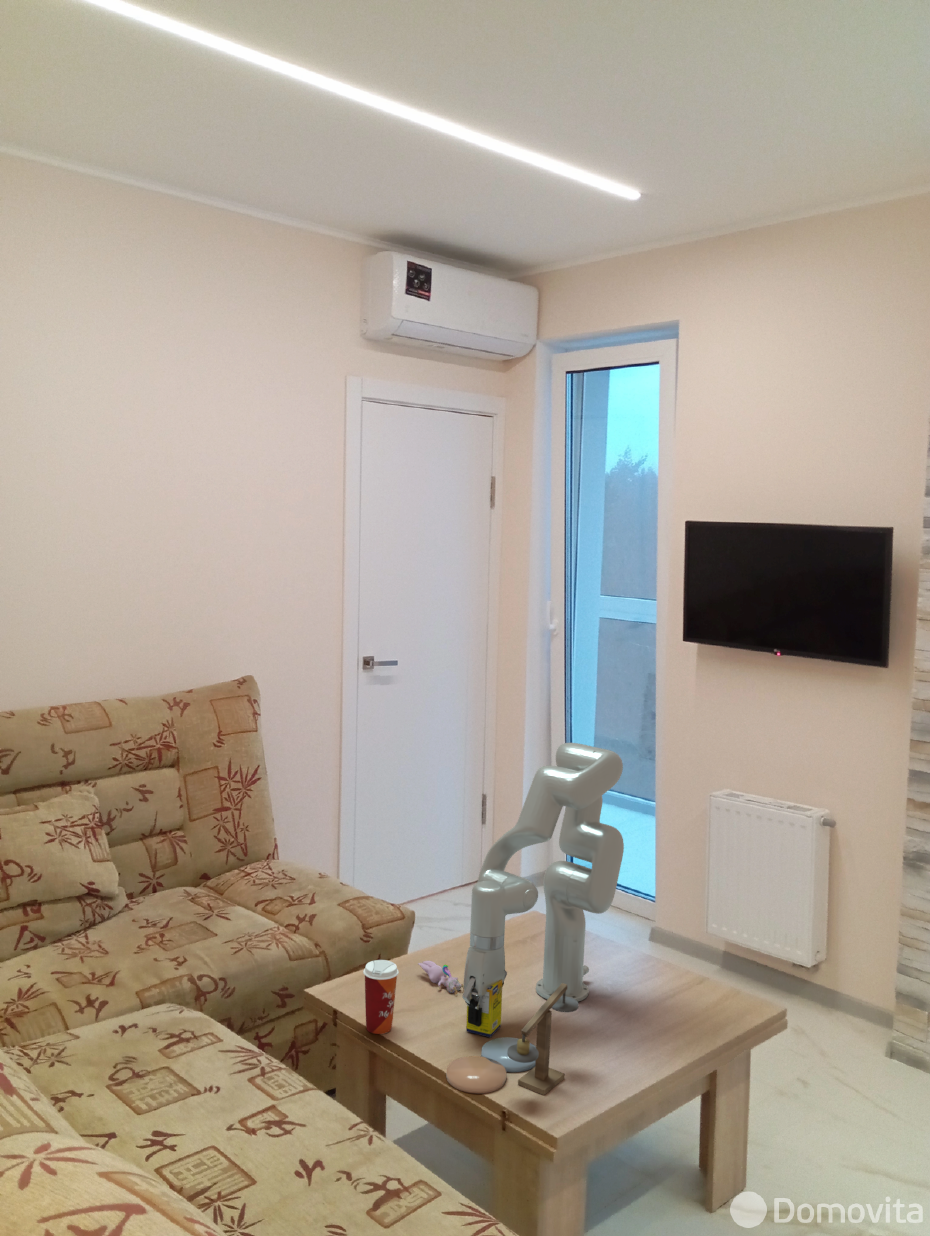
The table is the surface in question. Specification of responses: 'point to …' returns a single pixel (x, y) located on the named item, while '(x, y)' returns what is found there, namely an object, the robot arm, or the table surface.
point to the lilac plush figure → (441, 976)
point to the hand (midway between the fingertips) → (483, 1017)
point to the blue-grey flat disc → (504, 1054)
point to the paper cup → (380, 995)
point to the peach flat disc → (476, 1074)
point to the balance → (541, 1044)
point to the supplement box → (488, 1011)
